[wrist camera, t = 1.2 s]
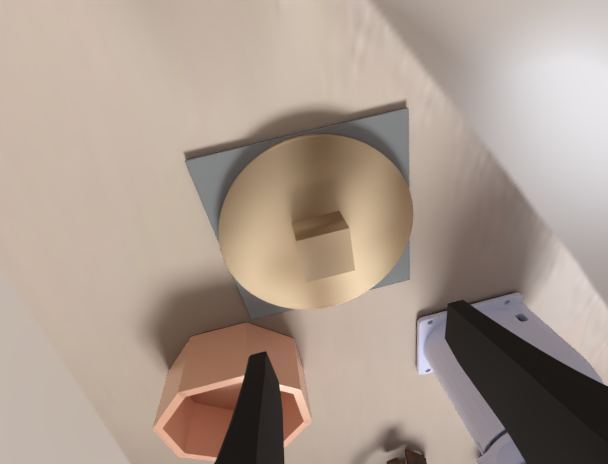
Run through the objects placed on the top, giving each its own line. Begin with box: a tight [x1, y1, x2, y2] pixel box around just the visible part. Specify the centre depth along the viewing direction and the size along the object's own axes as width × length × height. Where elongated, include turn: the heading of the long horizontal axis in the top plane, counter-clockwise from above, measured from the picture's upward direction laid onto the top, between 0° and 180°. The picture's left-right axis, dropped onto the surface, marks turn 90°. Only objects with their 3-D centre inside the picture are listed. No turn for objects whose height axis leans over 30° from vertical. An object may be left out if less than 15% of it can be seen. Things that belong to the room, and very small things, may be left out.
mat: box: [185, 108, 410, 320], centre depth 19 cm, size 13×13×1 cm
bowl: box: [153, 322, 312, 461], centre depth 23 cm, size 11×11×4 cm
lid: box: [219, 133, 413, 309], centre depth 18 cm, size 12×12×3 cm
